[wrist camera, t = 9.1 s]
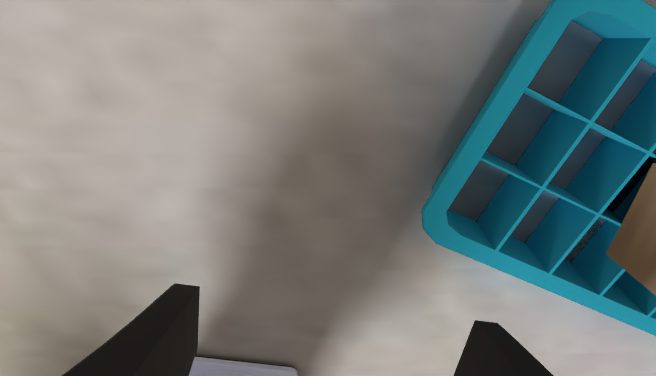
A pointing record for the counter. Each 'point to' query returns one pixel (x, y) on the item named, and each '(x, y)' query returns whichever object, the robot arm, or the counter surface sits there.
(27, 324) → the counter surface
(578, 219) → the ice cube tray
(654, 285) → the walnut block
